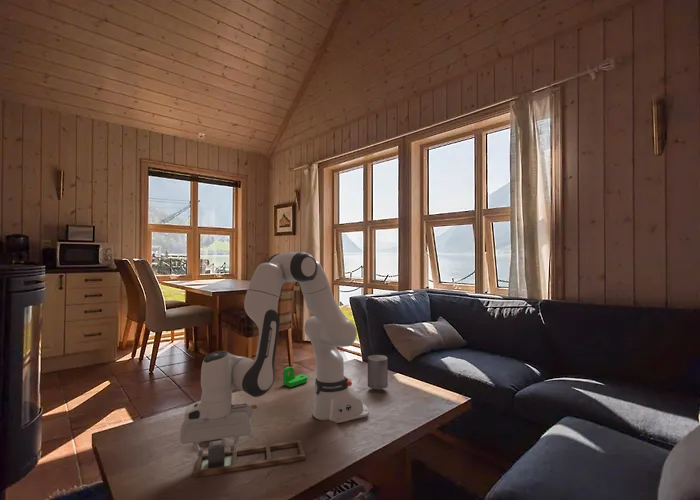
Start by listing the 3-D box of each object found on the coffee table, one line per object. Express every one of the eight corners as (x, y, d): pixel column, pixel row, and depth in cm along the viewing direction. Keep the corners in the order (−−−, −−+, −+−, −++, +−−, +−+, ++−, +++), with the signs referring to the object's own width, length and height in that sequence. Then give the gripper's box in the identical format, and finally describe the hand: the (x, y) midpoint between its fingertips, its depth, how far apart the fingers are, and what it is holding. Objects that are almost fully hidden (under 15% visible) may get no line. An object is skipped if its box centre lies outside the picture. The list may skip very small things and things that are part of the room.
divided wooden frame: (300, 443, 121) (300, 440, 121) (305, 459, 112) (305, 455, 112) (198, 458, 113) (198, 455, 113) (194, 477, 103) (194, 473, 103)
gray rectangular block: (225, 458, 112) (225, 438, 112) (224, 467, 108) (224, 445, 108) (209, 461, 111) (209, 440, 111) (208, 469, 107) (208, 448, 107)
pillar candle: (368, 382, 180) (368, 351, 180) (388, 382, 179) (388, 352, 179) (366, 389, 170) (366, 357, 170) (387, 390, 169) (387, 357, 169)
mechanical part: (290, 387, 174) (290, 370, 174) (283, 384, 178) (282, 368, 179) (309, 380, 183) (309, 364, 183) (302, 378, 187) (302, 362, 187)
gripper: (252, 398, 116) (252, 442, 115) (182, 406, 110) (182, 452, 110) (252, 406, 110) (252, 452, 109) (178, 415, 104) (178, 463, 104)
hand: (216, 452), depth 110 cm, fingers open, 8 cm apart
